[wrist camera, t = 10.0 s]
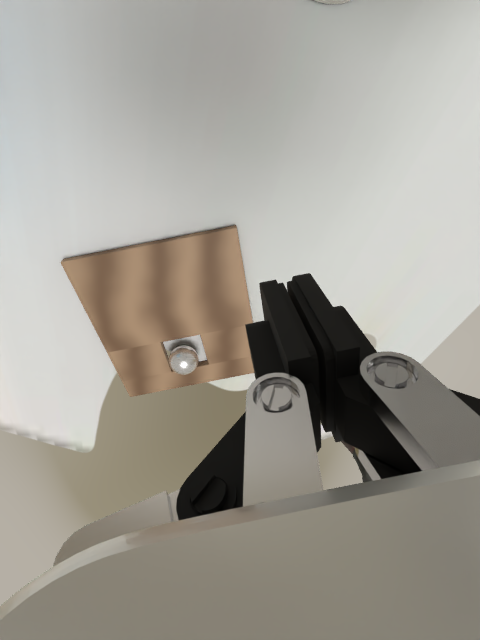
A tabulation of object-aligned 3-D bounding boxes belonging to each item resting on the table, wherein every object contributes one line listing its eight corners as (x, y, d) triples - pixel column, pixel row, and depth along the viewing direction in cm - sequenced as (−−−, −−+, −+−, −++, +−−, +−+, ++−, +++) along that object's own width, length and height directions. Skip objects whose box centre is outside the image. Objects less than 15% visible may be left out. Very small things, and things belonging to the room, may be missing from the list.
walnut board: (235, 225, 36) (236, 227, 35) (259, 366, 48) (261, 371, 48) (63, 258, 36) (60, 262, 35) (131, 392, 48) (130, 396, 48)
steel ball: (202, 374, 45) (199, 347, 46) (196, 368, 41) (193, 339, 42) (174, 379, 45) (172, 352, 46) (166, 373, 41) (163, 344, 42)
